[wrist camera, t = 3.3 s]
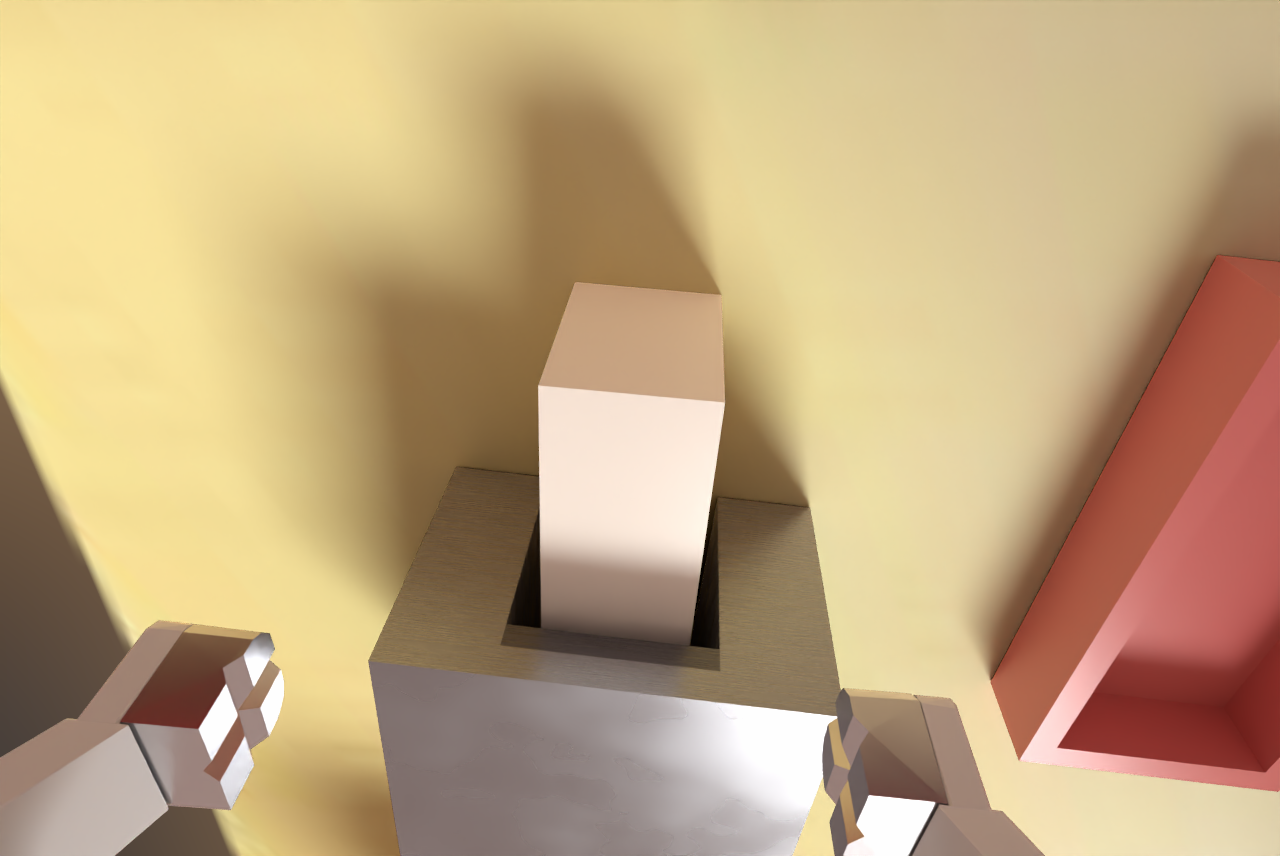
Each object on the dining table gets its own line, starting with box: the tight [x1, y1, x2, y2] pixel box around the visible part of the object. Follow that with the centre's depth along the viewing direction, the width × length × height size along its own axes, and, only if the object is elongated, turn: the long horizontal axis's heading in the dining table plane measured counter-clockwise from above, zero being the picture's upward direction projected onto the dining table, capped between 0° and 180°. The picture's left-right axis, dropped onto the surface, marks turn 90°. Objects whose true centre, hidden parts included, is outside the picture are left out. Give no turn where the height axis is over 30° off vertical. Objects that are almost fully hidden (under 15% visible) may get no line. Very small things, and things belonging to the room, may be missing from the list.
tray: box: [991, 255, 1280, 792], centre depth 20 cm, size 8×15×3 cm, turn 175°
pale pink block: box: [538, 282, 725, 646], centre depth 19 cm, size 4×10×5 cm, turn 176°
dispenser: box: [368, 467, 841, 856], centre depth 22 cm, size 10×10×7 cm
